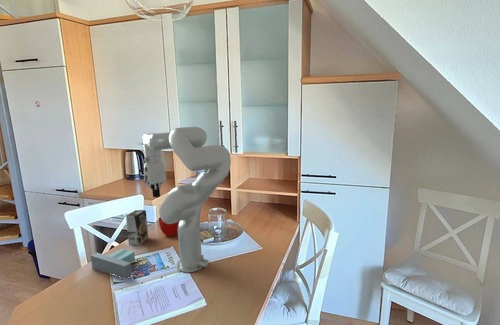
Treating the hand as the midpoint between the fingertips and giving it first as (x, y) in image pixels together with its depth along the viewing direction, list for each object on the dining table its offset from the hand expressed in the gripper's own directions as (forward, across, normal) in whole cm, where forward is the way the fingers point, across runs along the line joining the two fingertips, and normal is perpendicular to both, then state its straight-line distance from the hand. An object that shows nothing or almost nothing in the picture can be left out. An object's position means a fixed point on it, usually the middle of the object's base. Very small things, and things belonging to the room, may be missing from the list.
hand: (156, 196), depth 139 cm
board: (+27, -25, +4) cm, 37 cm away
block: (+27, -19, +6) cm, 34 cm away
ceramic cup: (+27, +16, +6) cm, 32 cm away
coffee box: (+27, +2, +18) cm, 33 cm away
